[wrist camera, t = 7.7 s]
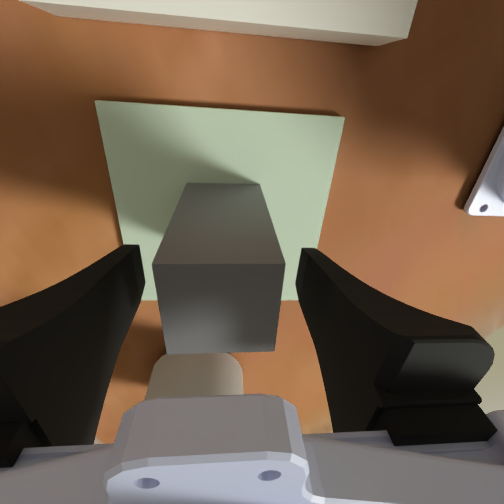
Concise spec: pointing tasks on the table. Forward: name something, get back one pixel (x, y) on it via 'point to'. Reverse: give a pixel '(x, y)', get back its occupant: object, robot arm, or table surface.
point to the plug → (219, 272)
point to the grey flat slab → (256, 16)
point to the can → (195, 376)
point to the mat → (218, 169)
